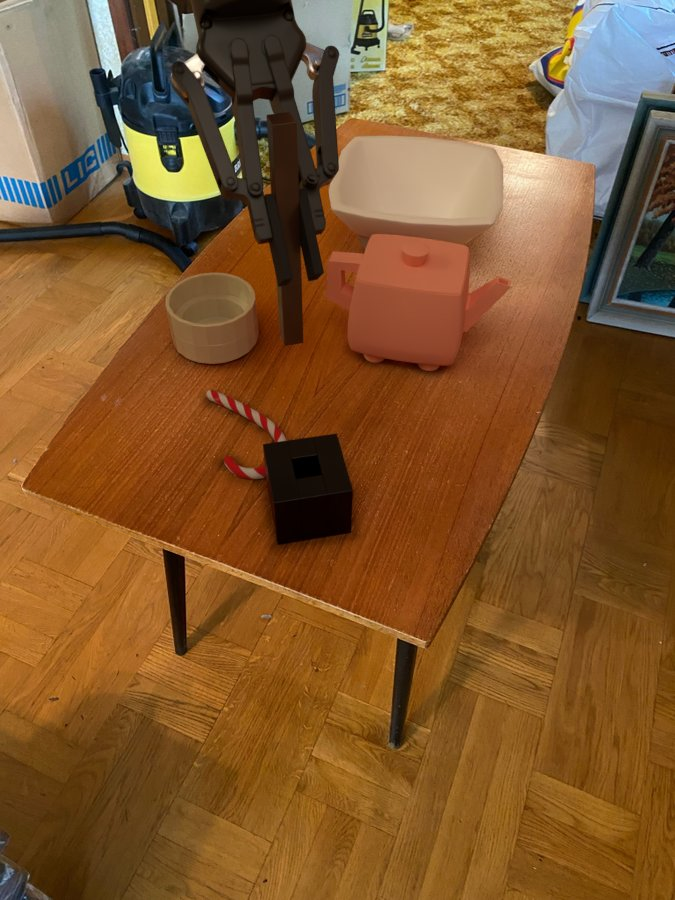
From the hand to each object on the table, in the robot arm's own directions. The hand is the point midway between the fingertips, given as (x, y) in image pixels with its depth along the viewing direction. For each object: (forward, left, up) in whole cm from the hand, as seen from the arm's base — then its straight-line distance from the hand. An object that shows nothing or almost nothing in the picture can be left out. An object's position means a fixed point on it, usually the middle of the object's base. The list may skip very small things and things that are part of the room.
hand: (300, 279), depth 56 cm
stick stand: (0, -2, -27) cm, 27 cm away
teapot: (+9, +27, -27) cm, 39 cm away
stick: (-2, +4, -9) cm, 10 cm away
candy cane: (-9, +7, -27) cm, 30 cm away
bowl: (+7, +51, -27) cm, 59 cm away
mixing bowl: (-16, +23, -27) cm, 39 cm away
